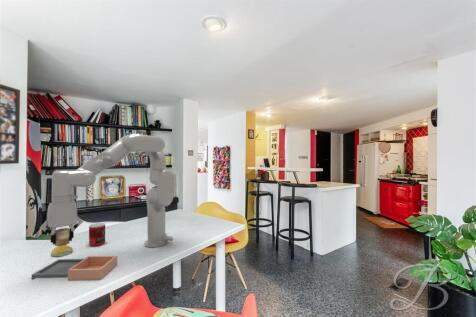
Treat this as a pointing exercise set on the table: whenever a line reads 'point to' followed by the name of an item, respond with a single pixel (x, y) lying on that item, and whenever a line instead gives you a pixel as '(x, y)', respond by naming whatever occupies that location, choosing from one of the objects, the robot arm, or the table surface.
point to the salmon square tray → (92, 268)
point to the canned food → (96, 234)
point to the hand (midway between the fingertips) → (62, 241)
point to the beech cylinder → (62, 236)
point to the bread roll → (61, 251)
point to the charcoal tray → (56, 269)
